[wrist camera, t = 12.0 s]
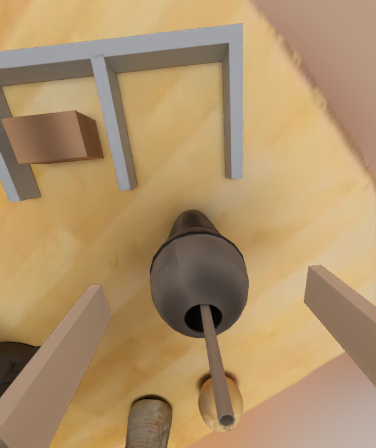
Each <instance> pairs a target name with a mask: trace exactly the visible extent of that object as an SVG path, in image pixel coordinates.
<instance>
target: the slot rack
mask: <svg viewBox="0 0 376 448" xmlns="http://www.w3.org/2000/svg"><path fill="white" fill-rule="evenodd" d="M220 61H222V69H223V102H224V135H225V168H226V178H230V179H239V178H243V23H241V24H232V25H223V26H215V27H206V28H197V29H189V30H180V31H172V32H163V33H154V34H146V35H137V36H129V37H120V38H111V39H103V40H94V41H85V42H77V43H68V44H60V45H51V46H42V47H34V48H25V49H16V50H8V51H0V180H1V183H2V185H3V187H4V190H5V192H6V194H7V197H8V199H9V201H10V202H16V201H23V200H27V199H32V198H36V197H41V195H40V192H39V190H38V187H37V184H36V181H35V179H34V176H33V173H32V170H31V168H30V165H29V164H18V161H17V159H16V156H15V154H14V151H13V148H12V146H11V143H10V141H9V138H8V135H7V133H6V130H5V128H4V125H3V123H2V120H1V119H4V118H12V116H11V113H10V110H9V107H8V105H7V102H6V99H5V97H4V94H3V91H2V88H1V86H7V85H16V84H25V83H34V82H43V81H52V80H61V79H69V78H78V77H87V76H95V81H96V85H97V90H98V94H99V99H100V103H101V108H102V113H103V117H104V122H105V126H106V131H107V135H108V140H109V144H110V149H111V153H112V158H113V162H114V167H115V171H116V176H117V180H118V185H119V190H120V191H122V190H131V189H133V188H135V187H137V182H136V176H135V171H134V166H133V160H132V155H131V150H130V145H129V139H128V134H127V129H126V123H125V118H124V113H123V107H122V102H121V97H120V91H119V86H118V81H117V75H116V73H122V72H131V71H140V70H149V69H158V68H167V67H176V66H184V65H193V64H202V63H211V62H220Z"/></svg>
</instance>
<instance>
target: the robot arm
mask: <svg viewBox="0 0 376 448" xmlns="http://www.w3.org/2000/svg"><path fill="white" fill-rule="evenodd" d="M304 303H305V304H306V305H307V306H308V307H309V308H310V310H311V311H312V312H313V313H314V314H315V316H316V317H317V318H318V319H319V320H320V322H321V323H322V324H323V325H324V326H325V327H326V329H327V330H328V331H329V332H330V333H331V335H332V336H333V337H334V338H335V339H336V341H337V342H338V343H339V344H340V345H341V346H342V348H343V349H344V350H345V351H346V352H347V354H348V355H349V356H350V357H351V358H352V360H353V361H354V362H355V363H356V364H357V365H358V367H359V368H360V369H361V370H362V371H363V373H364V374H365V375H366V376H367V377H368V379H369V380H370V381H371V382H372V383H373V384H374V386H375V387H376V306H374V305H373V304H372V303H370V302H369V301H368V300H366V299H365V298H364V297H363V296H361V295H360V294H359V293H357V292H356V291H355V290H353V289H352V288H351V287H349V286H348V285H347V284H345V283H344V282H343V281H341V280H340V279H339V278H338V277H336V276H335V275H334V274H332V273H331V272H330V271H328V270H327V269H326V268H324V267H323V266H322V265H317V266H309V268H308V275H307V282H306V289H305V296H304ZM111 318H112V317H111V313H110V310H109V307H108V304H107V300H106V297H105V294H104V291H103V287H102V284H99V285H90V286H89V287H88V288H87V290H86V291H85V292H84V293H83V295H82V296H81V297H80V298H79V300H78V301H77V302H76V303H75V305H74V306H73V307H72V308H71V310H70V311H69V312H68V313H67V315H66V316H65V317H64V318H63V320H62V321H61V322H60V324H59V325H58V326H57V327H56V329H55V330H54V331H53V332H52V334H51V335H50V336H49V337H48V339H47V340H46V341H45V342H44V344H43V345H42V346H36V347H35V348H34V347H31V346H28V345H24V344H19V343H0V448H48V447H49V445H50V443H51V441H52V439H53V437H54V435H55V433H56V431H57V429H58V426H59V424H60V422H61V420H62V418H63V416H64V414H65V412H66V410H67V408H68V406H69V404H70V402H71V400H72V398H73V396H74V394H75V392H76V390H77V388H78V386H79V383H80V381H81V379H82V377H83V375H84V373H85V371H86V369H87V367H88V365H89V363H90V361H91V359H92V357H93V355H94V353H95V351H96V349H97V347H98V345H99V343H100V340H101V338H102V336H103V334H104V332H105V330H106V328H107V326H108V324H109V322H110V320H111Z"/></svg>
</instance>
